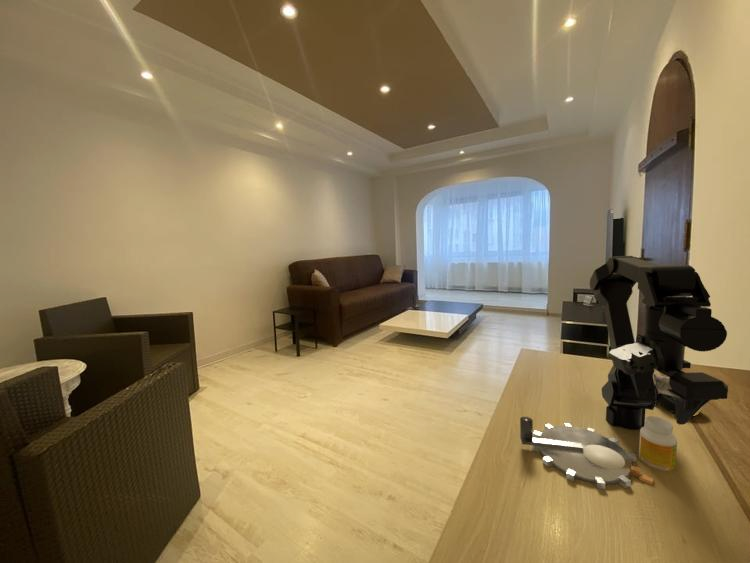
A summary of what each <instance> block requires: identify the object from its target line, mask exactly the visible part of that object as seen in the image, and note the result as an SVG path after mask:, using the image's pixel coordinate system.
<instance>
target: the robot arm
mask: <svg viewBox="0 0 750 563" xmlns="http://www.w3.org/2000/svg"><path fill="white" fill-rule="evenodd" d="M636 284H637V290H639V291H640V292H641V293H642V295H643V297H644V298H642V300H641V302H642V304H644V305H645V310H644V325H643V327H644V328H643V329H644V330H643V333H638V334H637V336H636V338H635V337H634V332H633V327H632V324H631V323H632V322H631V318H630V313H629V308H628V301H629V299H630V298H631V296H632V294H633V292H634V291H633V287H634V286H635V285H636ZM589 288H590V289H591V291H592V293H593V297H594V299H595V301H597V302H598V303H599V304H600V306H602V308H603V311H604V317H605V321H606V328H607V332H608V338H609V343H610V344H609V345H610V350H609V352H608V353H609V356H610V359H611V362H612V364H613V365H612V367H611V369H610V370H609V372H608V374H607V379H608V380H607V381H606V383H605V384H604V385H603V386H602V387H601V396H602V398H603V399H604V401H605V402H606V403H607V406H606V408H605V421H606V422H608V424H610V425H611V426H612V427H616V428H622V429H626V430H630V431H637V430H641V428H642V427H644V426H645V418H646V410H650V411H651V410H652V411H654V409H655V406H656V404H657V402H658V401H657V398H658V391H657V388H656V386H655V385H654V381H653V374H655V371H656V372H659V373H661V374H663V376H665V377H669V385H670V386H671V388H672V389H668V391H669V392H670V393H671V394H672V395H673V396H674V397H675V408H676V413H675V421H676V424H678V425H679V426H680V425H681V426H682V425H686V423H687V422H689V420H690V419H691V418H693V417H692V416H693V415H694V414H695V413H696V412H697V411H698V410H699V409H700V408H701V407H702V406H703V407H704V406H705V405H706V404H707V403H709V402H710V401H712V400H713V401H716V400H717V401H718V400H726V399H728V394H729V393H728V392H729V386H728V385H727V383H725V381H723V380H720V379H718V378H716V377H714V376H712V375H709V374H708V373H705V372H703V371H701V372H684V371H683V369H691V364H692V363H691V362H689V361H688V360H685V351H686V348H689V349H691V350H693V351H697V352H711V351H713V350H716V349H718V348H719V347H721V346H722V345H723V344H724V343H725V341H726V340H727V336H728V331H727V330H726V327H725V325H724V324H723V322H722V321H720V320H719V319H717V318H715V317H713V316H712V309H711V308H710V307H711V301H710V298H711V295H710V294H709V291H708V290H707V289H706V286H704V284H703V281H702V279H701V276H700V275H699V273H698V272H697V271H696V269H695V268H694V267H693V266H691V265H689V264H677V265H676V264H673V265H672V264H671V265H669V264H667V265H661V264H660V265H659V264H657V263H653V262H651V261H648V260H647V261H646V260H644V259H640V258H638V257H636V256H633V255H618V256H612V257H609V258H608V260H607V262H605V263H604V264H602V265H601V266H599V267H598V268H596V269H595V270H594V271H593V273H592V275H591V277H590V279H589Z"/></svg>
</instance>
